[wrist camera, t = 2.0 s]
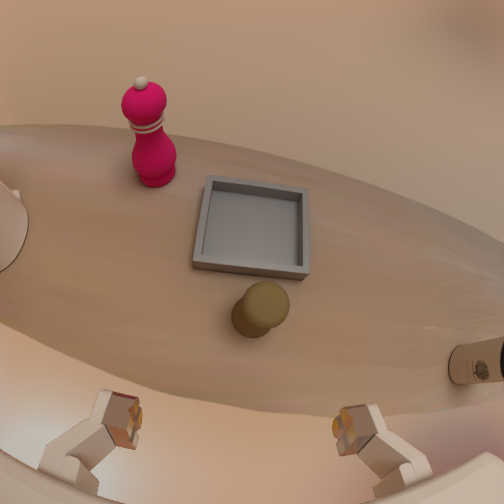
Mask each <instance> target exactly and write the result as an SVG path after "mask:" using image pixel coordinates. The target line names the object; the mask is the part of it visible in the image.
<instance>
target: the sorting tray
mask: <svg viewBox="0 0 504 504" xmlns="http://www.w3.org/2000/svg"><path fill="white" fill-rule="evenodd" d="M193 266H194V269H201V270H210V271H218V272H227V273H236V274H245V275H254V276H263V277H273V278H283V279H292V280H303V279H304V278H306V277H307V276H308V275H309V274H310V230H309V195H308V189H304V188H298V187H292V186H286V185H280V184H274V183H267V182H261V181H254V180H246V179H239V178H231V177H223V176H214V175H207V179H206V184H205V190H204V195H203V200H202V206H201V212H200V217H199V223H198V229H197V235H196V242H195V248H194V254H193Z"/></svg>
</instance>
